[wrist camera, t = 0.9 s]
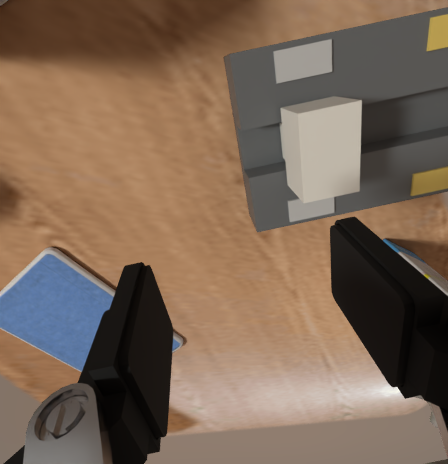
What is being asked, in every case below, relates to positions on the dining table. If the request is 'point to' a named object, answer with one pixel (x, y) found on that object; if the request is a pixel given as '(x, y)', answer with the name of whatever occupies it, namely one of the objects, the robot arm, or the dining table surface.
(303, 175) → the switch tab
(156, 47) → the dining table surface
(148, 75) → the dining table surface
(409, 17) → the switch panel
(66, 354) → the tablet computer
